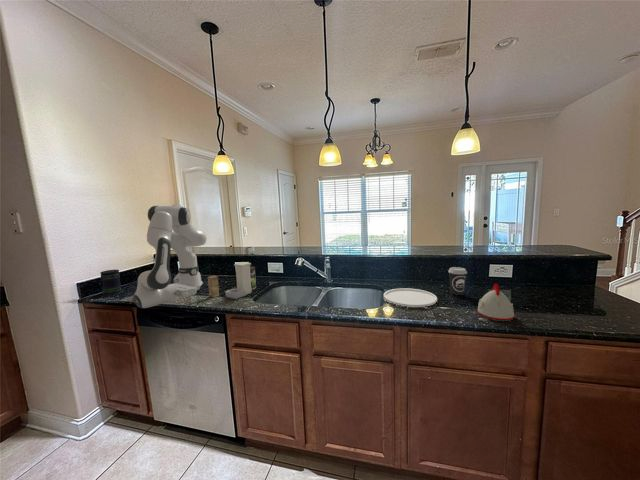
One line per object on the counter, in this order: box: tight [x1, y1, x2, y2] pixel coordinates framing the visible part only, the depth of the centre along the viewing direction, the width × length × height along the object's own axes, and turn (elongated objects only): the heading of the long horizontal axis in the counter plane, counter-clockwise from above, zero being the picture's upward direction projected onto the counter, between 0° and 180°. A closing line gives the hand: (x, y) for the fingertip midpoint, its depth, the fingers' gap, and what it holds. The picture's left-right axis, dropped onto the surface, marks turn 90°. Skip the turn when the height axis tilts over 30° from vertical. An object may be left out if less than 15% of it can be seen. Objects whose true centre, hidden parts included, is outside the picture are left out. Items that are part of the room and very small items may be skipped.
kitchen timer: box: [477, 283, 515, 320], centre depth 120 cm, size 14×14×15 cm
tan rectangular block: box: [207, 275, 220, 298], centre depth 162 cm, size 4×4×12 cm
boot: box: [225, 261, 252, 300], centre depth 162 cm, size 9×14×19 cm, turn 147°
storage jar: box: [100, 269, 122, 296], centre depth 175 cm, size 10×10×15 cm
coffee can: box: [250, 265, 257, 291], centre depth 176 cm, size 10×10×14 cm
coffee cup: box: [448, 266, 468, 295], centre depth 151 cm, size 10×10×15 cm
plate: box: [383, 287, 438, 307], centre depth 146 cm, size 28×28×2 cm
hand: (194, 286), depth 151 cm, fingers open, 8 cm apart
